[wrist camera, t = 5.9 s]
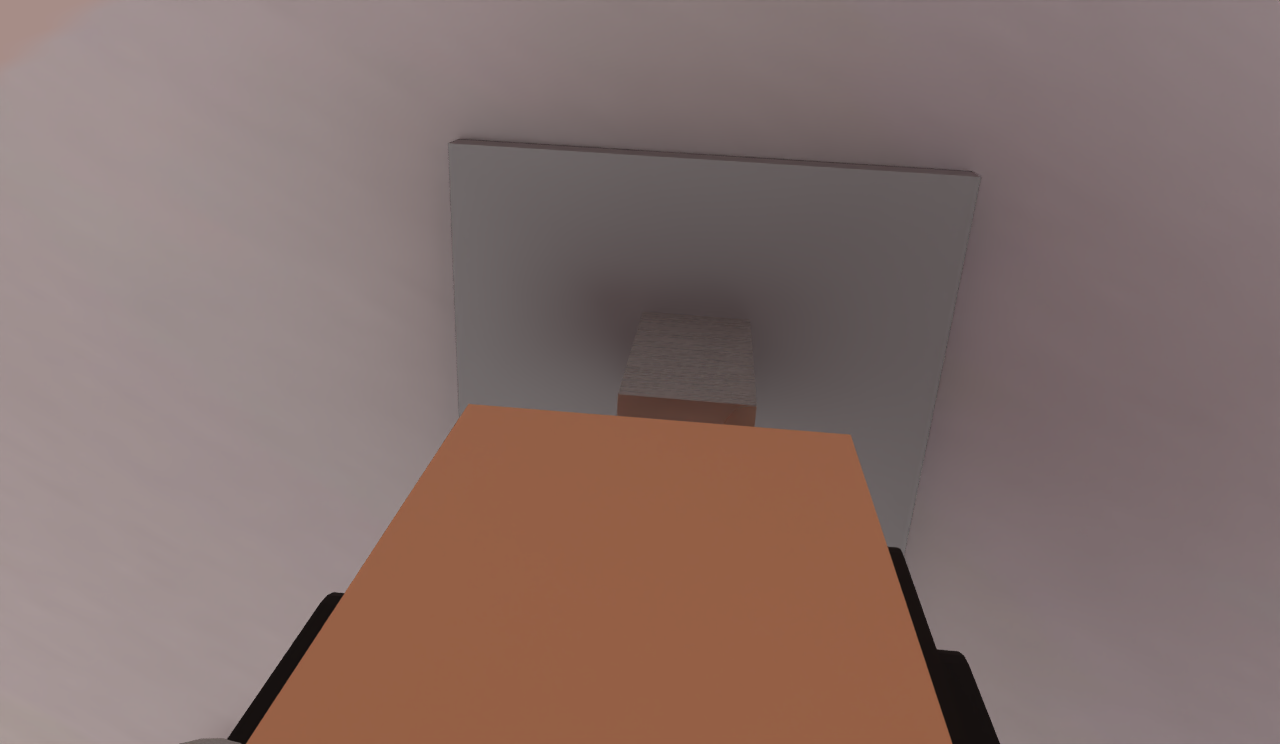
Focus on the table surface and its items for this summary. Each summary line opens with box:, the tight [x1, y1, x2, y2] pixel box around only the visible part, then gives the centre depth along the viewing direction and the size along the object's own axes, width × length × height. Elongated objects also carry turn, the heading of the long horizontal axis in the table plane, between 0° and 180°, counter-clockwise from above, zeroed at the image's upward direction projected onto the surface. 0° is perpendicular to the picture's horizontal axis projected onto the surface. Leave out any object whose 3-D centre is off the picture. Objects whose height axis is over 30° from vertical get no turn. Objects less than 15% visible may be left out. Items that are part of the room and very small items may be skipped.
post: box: [617, 312, 757, 427], centre depth 18 cm, size 3×3×5 cm
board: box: [448, 139, 981, 556], centre depth 23 cm, size 12×22×1 cm, turn 177°
